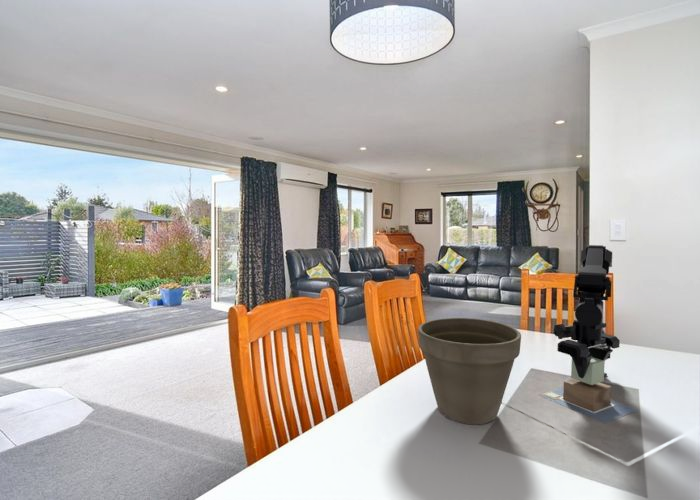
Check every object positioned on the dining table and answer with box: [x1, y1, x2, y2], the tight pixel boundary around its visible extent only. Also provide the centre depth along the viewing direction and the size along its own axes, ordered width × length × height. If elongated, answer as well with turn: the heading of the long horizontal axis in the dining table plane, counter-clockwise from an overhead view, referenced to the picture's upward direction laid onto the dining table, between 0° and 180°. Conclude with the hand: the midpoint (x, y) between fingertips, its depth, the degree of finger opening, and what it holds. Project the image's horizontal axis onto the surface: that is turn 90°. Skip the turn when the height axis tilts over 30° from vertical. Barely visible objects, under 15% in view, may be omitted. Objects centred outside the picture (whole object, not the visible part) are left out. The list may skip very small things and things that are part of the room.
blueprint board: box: [538, 386, 639, 424], centre depth 107 cm, size 15×18×1 cm
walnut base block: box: [563, 378, 612, 411], centre depth 106 cm, size 8×8×5 cm
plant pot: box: [417, 317, 522, 425], centre depth 101 cm, size 25×25×22 cm
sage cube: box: [570, 357, 606, 385], centre depth 106 cm, size 6×6×6 cm
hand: (587, 375), depth 106 cm, fingers closed on sage cube, 5 cm apart
